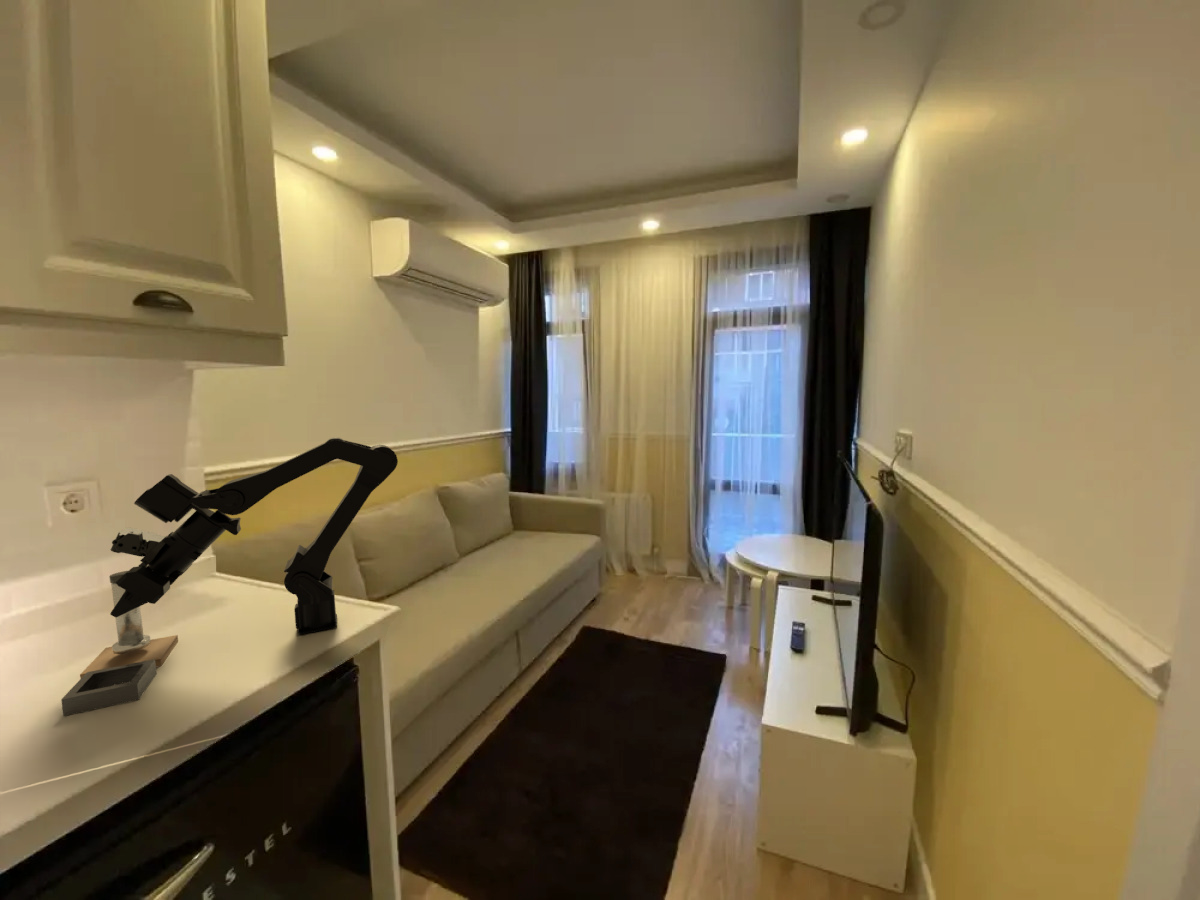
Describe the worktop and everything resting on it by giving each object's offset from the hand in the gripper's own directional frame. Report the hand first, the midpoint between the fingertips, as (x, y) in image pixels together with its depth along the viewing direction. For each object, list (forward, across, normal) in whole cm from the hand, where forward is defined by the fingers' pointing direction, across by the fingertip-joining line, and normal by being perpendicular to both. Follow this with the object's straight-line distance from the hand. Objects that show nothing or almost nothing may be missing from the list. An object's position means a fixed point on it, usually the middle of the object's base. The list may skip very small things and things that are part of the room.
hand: (117, 611), depth 86 cm
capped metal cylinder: (+4, 0, +6) cm, 7 cm away
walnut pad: (+5, 0, +7) cm, 9 cm away
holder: (+5, +12, +8) cm, 15 cm away
